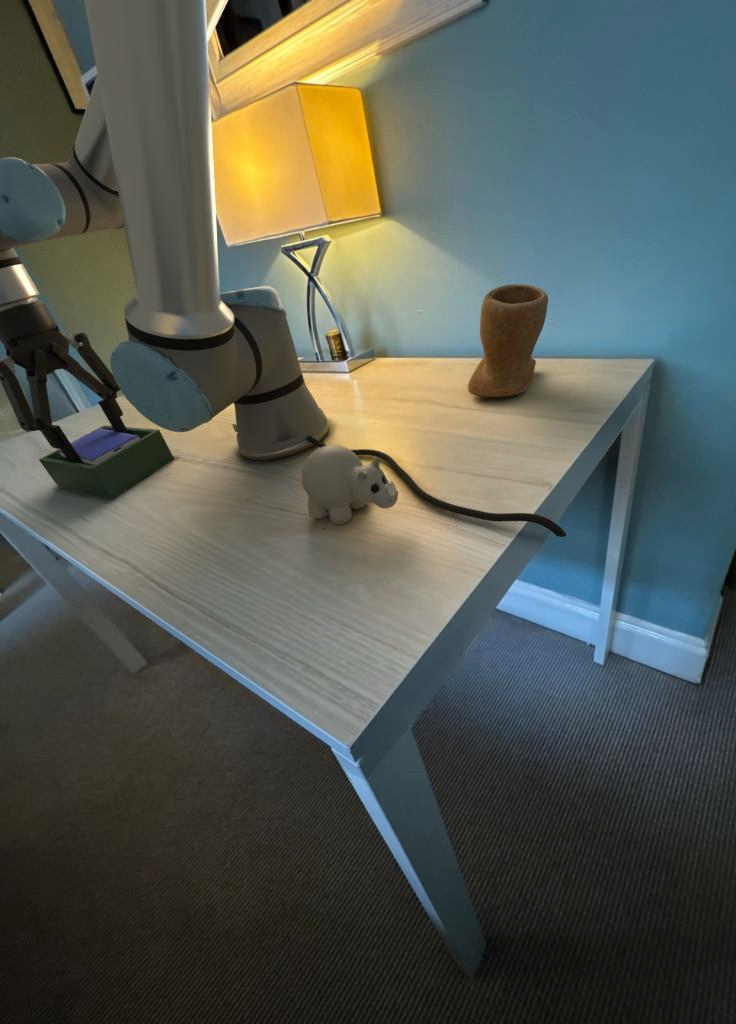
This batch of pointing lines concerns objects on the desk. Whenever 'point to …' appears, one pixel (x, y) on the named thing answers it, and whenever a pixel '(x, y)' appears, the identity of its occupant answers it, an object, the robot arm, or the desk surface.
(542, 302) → the brown clay boot vase
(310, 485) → the chubby cartoon animal
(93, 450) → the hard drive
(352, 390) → the desk surface
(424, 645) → the desk surface
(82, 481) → the tub
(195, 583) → the desk surface
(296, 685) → the desk surface
